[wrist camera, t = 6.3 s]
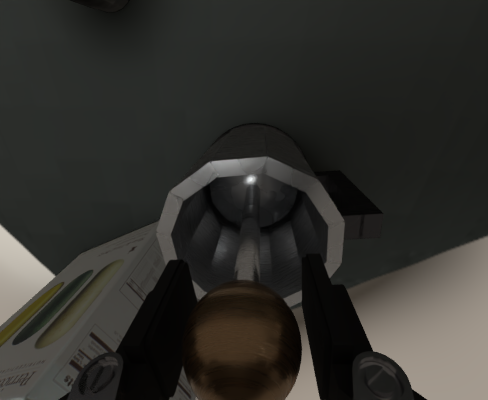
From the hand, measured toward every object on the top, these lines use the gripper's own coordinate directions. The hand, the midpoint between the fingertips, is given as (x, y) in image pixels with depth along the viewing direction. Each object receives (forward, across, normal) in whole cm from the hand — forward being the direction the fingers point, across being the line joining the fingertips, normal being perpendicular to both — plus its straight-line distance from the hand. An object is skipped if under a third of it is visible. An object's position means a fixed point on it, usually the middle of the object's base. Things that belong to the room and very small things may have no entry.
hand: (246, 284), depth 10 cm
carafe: (+15, -1, 0) cm, 15 cm away
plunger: (+12, 0, 0) cm, 12 cm away
